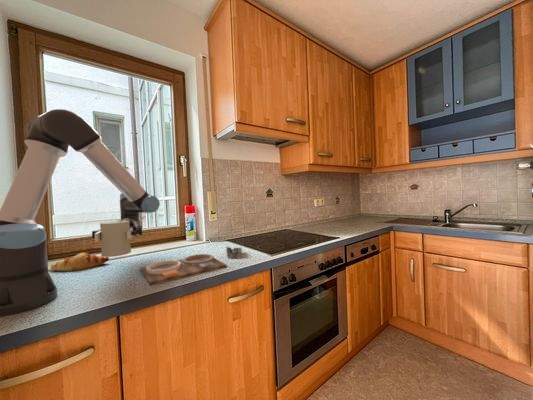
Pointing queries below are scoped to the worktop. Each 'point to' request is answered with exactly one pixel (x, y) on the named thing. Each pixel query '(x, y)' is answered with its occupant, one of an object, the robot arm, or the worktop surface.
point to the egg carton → (234, 252)
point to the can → (115, 238)
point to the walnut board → (185, 268)
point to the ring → (164, 272)
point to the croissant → (79, 262)
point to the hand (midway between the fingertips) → (112, 236)
